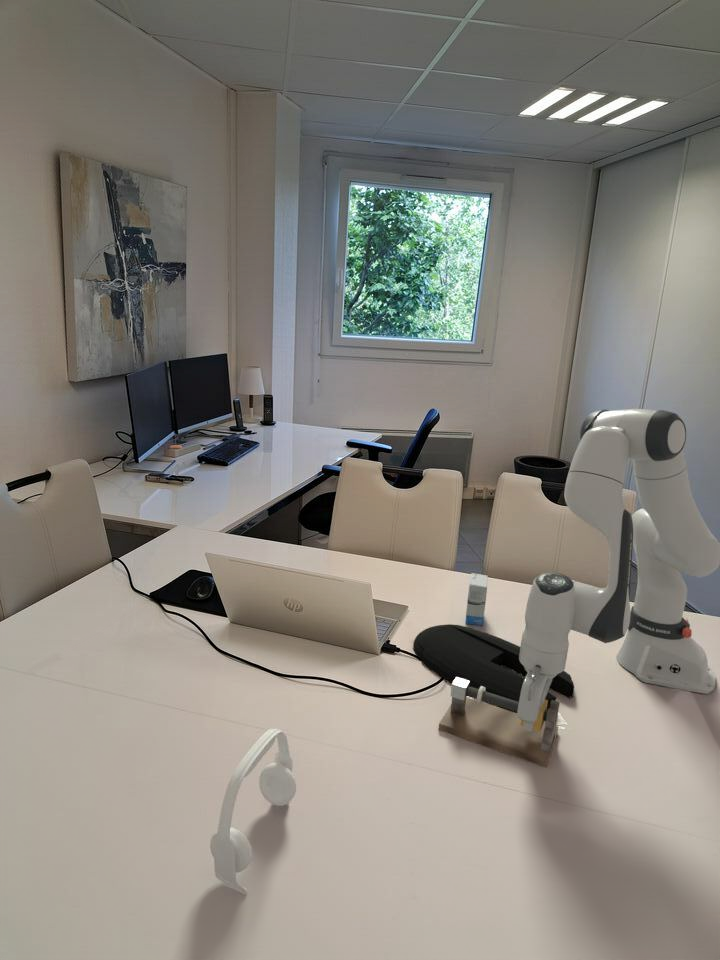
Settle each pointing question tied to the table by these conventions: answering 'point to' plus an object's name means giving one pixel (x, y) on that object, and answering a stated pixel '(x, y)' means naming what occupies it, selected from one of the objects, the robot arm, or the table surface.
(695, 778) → the table surface
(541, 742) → the slider rail assembly
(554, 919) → the table surface
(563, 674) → the black u-shaped plate
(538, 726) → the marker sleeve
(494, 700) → the dark grey rod
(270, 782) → the headset
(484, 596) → the ink box
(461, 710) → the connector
